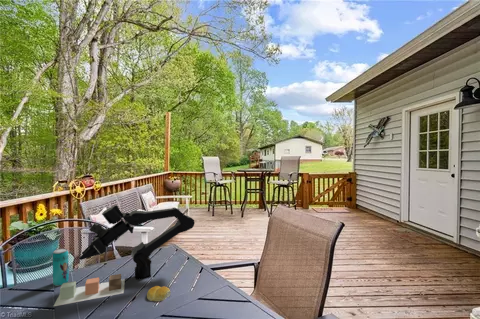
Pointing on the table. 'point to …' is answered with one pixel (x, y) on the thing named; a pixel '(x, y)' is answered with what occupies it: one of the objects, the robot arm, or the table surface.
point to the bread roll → (158, 293)
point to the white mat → (82, 297)
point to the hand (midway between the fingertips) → (81, 256)
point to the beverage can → (60, 267)
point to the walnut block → (115, 282)
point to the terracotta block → (92, 286)
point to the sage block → (68, 290)
